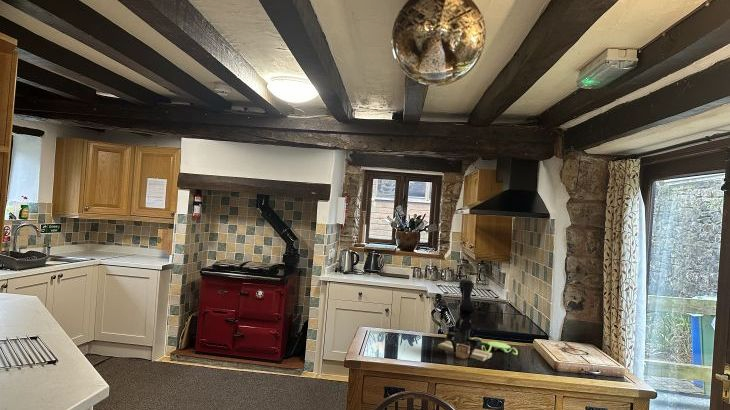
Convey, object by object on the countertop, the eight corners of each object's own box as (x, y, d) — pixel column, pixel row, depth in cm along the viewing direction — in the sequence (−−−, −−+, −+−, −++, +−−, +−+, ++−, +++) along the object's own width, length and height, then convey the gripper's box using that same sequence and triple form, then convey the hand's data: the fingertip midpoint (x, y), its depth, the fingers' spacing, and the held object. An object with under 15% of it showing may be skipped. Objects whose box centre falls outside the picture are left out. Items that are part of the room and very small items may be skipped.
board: (447, 344, 284) (447, 340, 284) (491, 356, 267) (492, 353, 267) (437, 347, 275) (438, 344, 275) (482, 361, 257) (483, 357, 257)
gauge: (467, 351, 273) (468, 340, 273) (476, 353, 270) (476, 343, 270) (455, 356, 261) (456, 345, 261) (463, 359, 258) (464, 348, 258)
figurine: (466, 344, 288) (467, 335, 288) (506, 346, 293) (506, 337, 293) (478, 354, 270) (479, 345, 270) (520, 356, 275) (521, 346, 275)
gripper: (442, 324, 261) (440, 352, 261) (474, 332, 250) (471, 362, 250) (452, 321, 270) (449, 349, 270) (483, 329, 259) (480, 358, 259)
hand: (462, 354), depth 262 cm, fingers open, 9 cm apart
